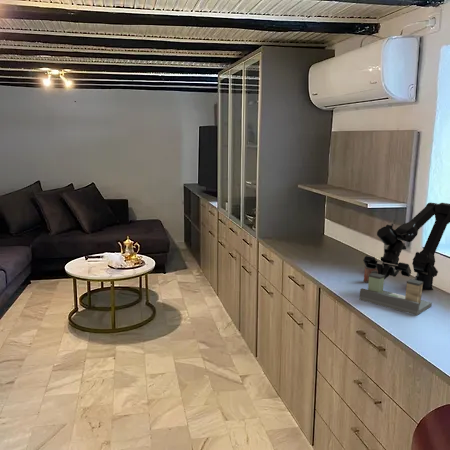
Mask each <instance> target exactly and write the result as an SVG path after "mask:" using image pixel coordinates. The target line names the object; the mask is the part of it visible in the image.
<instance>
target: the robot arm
mask: <svg viewBox="0 0 450 450" xmlns="http://www.w3.org/2000/svg"><path fill="white" fill-rule="evenodd" d="M433 217H434V218H435V221H434V223H433V226H432V228H431V230H430V232H429V234H428V237H427V239H426V242H425V244H424V247H423V248H422V250H421V251H416V252H415V254H414V257H413V259H412V267H413V272H414V273H416V275H415V277H414V280H417V281H422V282H423V286H422V290H428V291H429V290H430V291H434V288H433V282H434V278H435V277H437V275H438V273H439V271H438V269H437V268H436V266H435V264H436V257H435V253H436V251H437V248H438V247H439V244H440V241H441V240H442V238H443V236H444V233H445V231H446V229H447V226H448V225H449V224H450V203H447V202H440V203H437V202H428V203H426V206H425V207H424V208H423V209H421V210H420V211H419V212H418V213H417V214H416V215H415V216H414V217H412V218H411V220H409V221H408V222H405V223H402V224H401V225H400V226H398V227H397V228H396V229H394V228H392V226H391V225H392V224H391V225H390V224H386V225H385V226H381V228H379V229H378V230H377V231H376V236H377V237H378V239H380V240H381V242H382V243H383V245H384V244H385V245H388V247H387V249H385V250H384V249H383V256H381V257H380V260H379V259H376V258H375V256H371V255H365V256H364V258H363V259H362V260H363V263H364V266H366V267H367V268H371V269H374V268H377V270H378V274H381V275H385V277H384V281H385V280H386V279H387V278H389V276H392V277H394V278H395V277H397V276H398V274H399V273H400V274H401V275H402V276H403V277H410V276H411V274H412V269H411V267H410V264H409V263H405V262H399V261H400V258H399V257H400V255H401V253H402V251H403V250H404V251H405V250H407V245H406V243H411V242H412V241H414V239H415V238H416V237H417V236H418V233H419V230H420V229H421V228H422V227H423V226H424V225H425V224H426V223H427V222H429V220H430V219H431V218H433ZM404 242H406V243H404ZM384 252H385V253H384Z"/></svg>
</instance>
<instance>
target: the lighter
mask: <svg viewBox="0 0 450 450" xmlns="http://www.w3.org/2000/svg"><path fill="white" fill-rule="evenodd" d="M372 273H377V274H378V270H377V268H374V269H371V268H367V267H366V265H364V275H363V281H362V283H364V284H368V283H369V274H372Z"/></svg>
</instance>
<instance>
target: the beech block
mask: <svg viewBox="0 0 450 450" xmlns="http://www.w3.org/2000/svg"><path fill="white" fill-rule="evenodd" d="M422 286H423V282H422V281H417V280H415V279H412V278H411V279H409V280H406V288H405V289H406V290H405V295H404V296H405V299H406V300H410V301H414V302H418V303H421V300H422V294H423V289H422Z"/></svg>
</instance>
